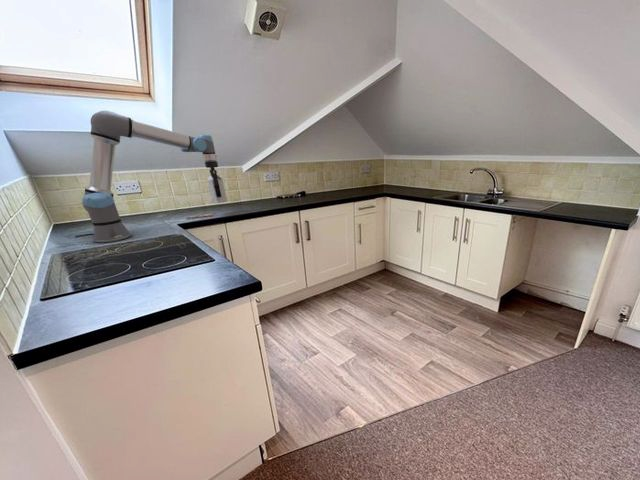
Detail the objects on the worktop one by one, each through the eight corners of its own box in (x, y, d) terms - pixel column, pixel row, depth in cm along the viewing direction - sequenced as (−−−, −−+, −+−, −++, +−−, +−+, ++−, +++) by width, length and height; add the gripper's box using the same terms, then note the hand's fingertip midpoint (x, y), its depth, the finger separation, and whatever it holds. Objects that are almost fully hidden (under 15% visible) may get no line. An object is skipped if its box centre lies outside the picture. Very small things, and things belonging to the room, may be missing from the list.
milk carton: (217, 203, 201) (210, 173, 193) (212, 202, 205) (205, 173, 197) (227, 201, 206) (221, 172, 198) (222, 200, 210) (216, 172, 202)
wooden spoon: (187, 219, 198) (186, 217, 197) (187, 218, 202) (186, 216, 201) (212, 216, 205) (212, 214, 204) (211, 215, 208) (211, 213, 208)
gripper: (218, 161, 188) (226, 197, 197) (215, 160, 205) (222, 193, 214) (205, 162, 185) (213, 198, 194) (203, 160, 202) (211, 194, 211)
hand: (218, 196), depth 204 cm, fingers closed on milk carton, 9 cm apart
